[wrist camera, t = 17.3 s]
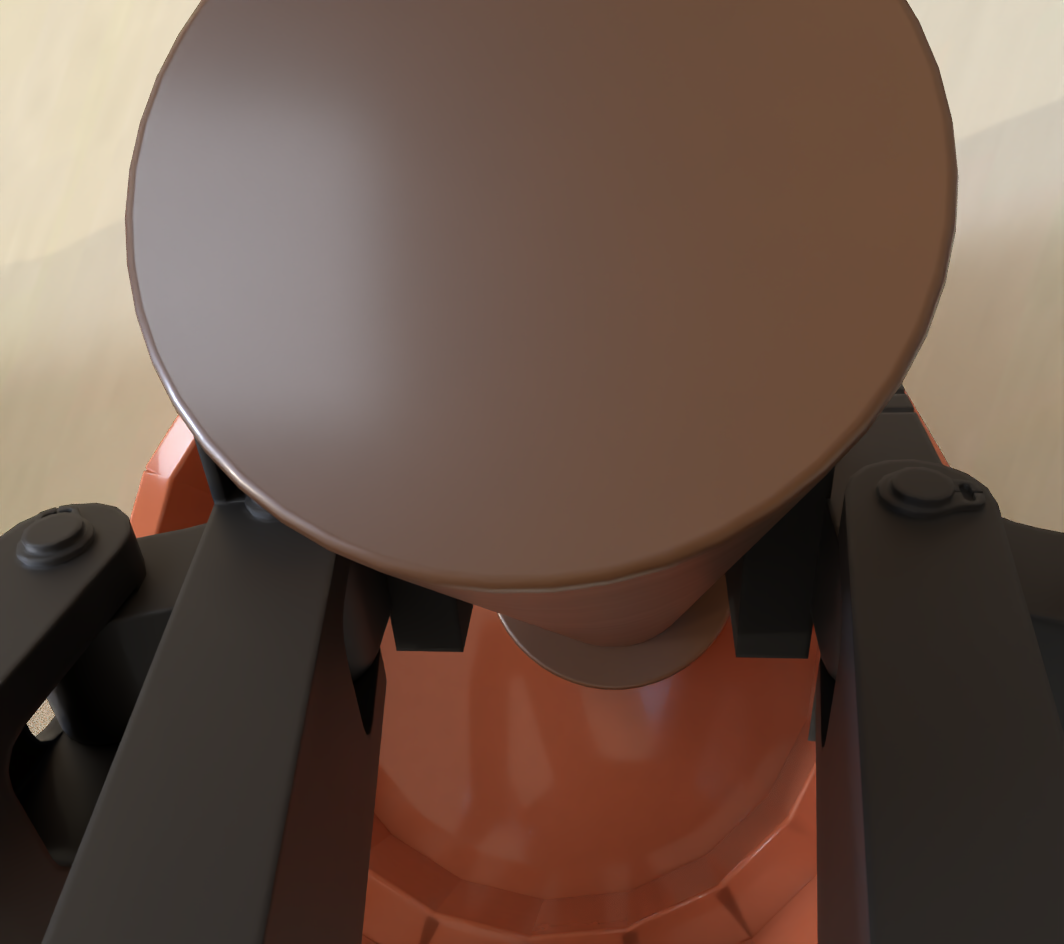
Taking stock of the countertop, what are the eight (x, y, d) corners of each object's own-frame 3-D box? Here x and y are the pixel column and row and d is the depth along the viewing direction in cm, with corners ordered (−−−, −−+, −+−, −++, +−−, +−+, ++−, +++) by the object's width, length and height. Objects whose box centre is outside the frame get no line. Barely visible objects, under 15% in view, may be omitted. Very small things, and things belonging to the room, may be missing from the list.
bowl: (922, 375, 21) (1034, 266, 15) (835, 1047, 19) (927, 1226, 13) (332, 285, 23) (229, 157, 17) (182, 880, 21) (2, 967, 15)
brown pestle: (740, 488, 19) (1232, -312, 3) (706, 705, 18) (1137, 980, 3) (530, 453, 20) (123, -360, 4) (488, 661, 19) (-220, 668, 3)
